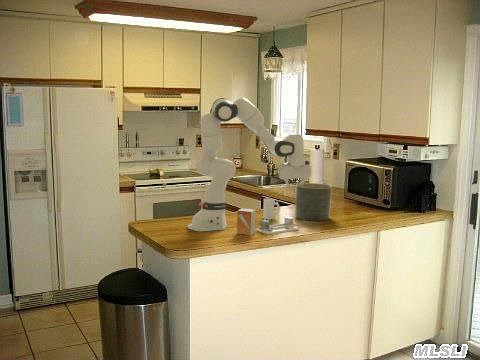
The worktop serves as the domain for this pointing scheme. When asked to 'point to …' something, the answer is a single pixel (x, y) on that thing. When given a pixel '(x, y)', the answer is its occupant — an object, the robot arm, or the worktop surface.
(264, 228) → the gauge board
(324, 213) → the planter
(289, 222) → the sliding leg
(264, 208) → the mug
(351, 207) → the worktop surface
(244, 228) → the small box
